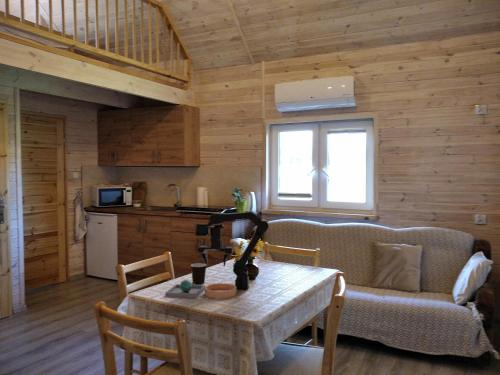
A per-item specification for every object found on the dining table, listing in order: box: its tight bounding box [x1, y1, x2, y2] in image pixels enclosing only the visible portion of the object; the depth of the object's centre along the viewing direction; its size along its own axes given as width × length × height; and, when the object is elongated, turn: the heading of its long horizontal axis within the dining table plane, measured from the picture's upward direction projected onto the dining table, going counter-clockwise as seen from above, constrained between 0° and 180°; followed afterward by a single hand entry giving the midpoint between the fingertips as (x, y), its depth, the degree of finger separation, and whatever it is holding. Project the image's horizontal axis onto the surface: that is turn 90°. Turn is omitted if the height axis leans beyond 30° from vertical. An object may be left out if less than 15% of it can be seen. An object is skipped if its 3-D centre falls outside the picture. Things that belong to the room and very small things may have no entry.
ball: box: [179, 279, 193, 292], centre depth 219 cm, size 6×6×6 cm
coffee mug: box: [190, 262, 207, 285], centre depth 240 cm, size 12×9×10 cm
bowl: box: [204, 282, 238, 299], centre depth 217 cm, size 16×16×3 cm
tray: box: [164, 283, 206, 299], centre depth 219 cm, size 16×16×2 cm
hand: (215, 265), depth 228 cm, fingers open, 9 cm apart
